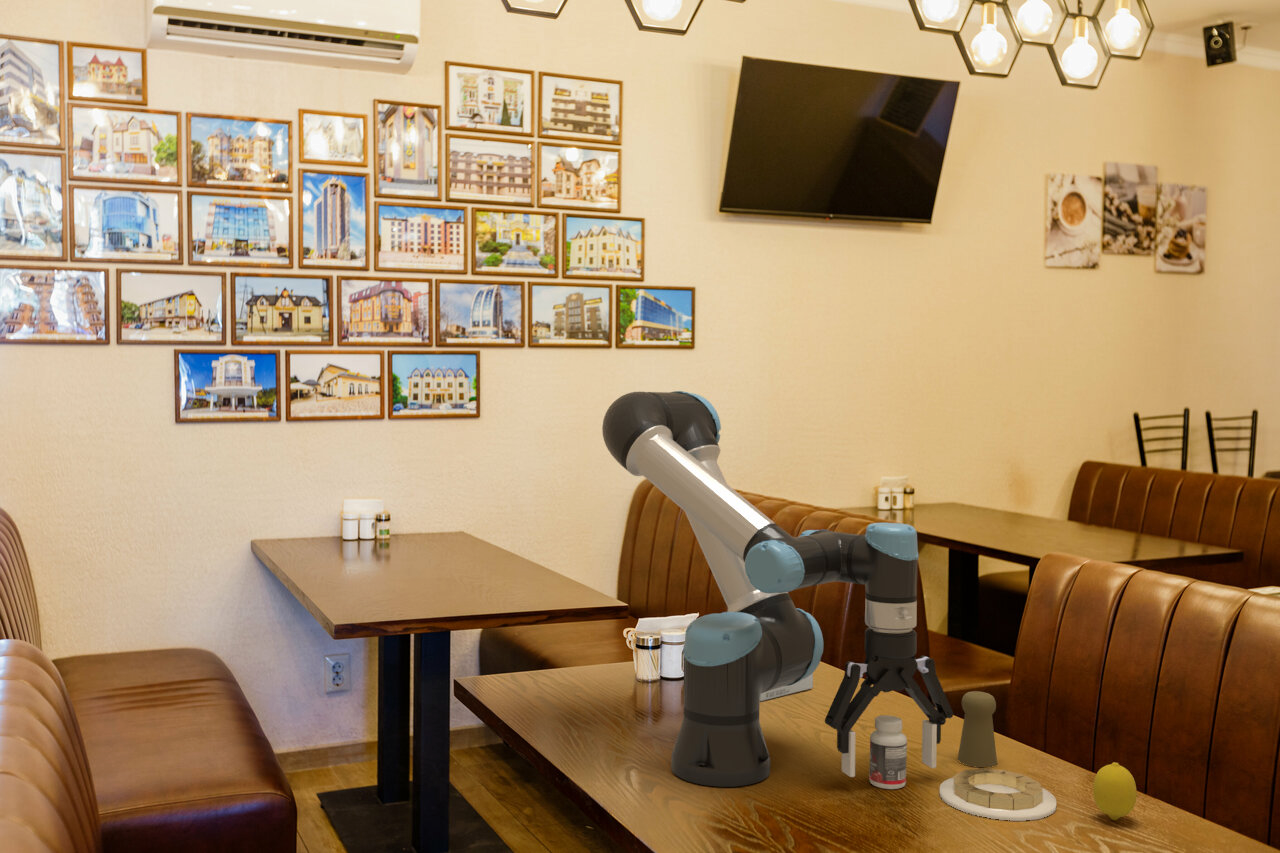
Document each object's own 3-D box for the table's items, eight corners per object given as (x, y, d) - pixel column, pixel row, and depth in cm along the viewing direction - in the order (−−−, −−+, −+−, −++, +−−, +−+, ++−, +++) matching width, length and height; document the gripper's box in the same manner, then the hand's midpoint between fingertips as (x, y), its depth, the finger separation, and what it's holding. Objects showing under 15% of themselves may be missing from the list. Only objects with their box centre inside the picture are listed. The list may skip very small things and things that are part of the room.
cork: (966, 752, 181) (968, 685, 181) (1003, 761, 177) (1004, 692, 177) (951, 762, 176) (952, 693, 176) (988, 770, 172) (990, 700, 172)
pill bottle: (862, 778, 168) (864, 714, 168) (895, 776, 169) (896, 712, 169) (879, 791, 163) (880, 725, 163) (912, 788, 164) (914, 723, 164)
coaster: (982, 826, 150) (982, 820, 150) (918, 785, 165) (918, 780, 165) (1081, 814, 155) (1081, 808, 155) (1009, 775, 170) (1010, 770, 170)
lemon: (1085, 819, 153) (1087, 762, 153) (1102, 809, 157) (1103, 753, 157) (1126, 831, 149) (1127, 772, 149) (1142, 820, 153) (1144, 763, 153)
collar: (986, 813, 153) (986, 802, 153) (937, 783, 164) (937, 772, 164) (1059, 804, 156) (1059, 793, 156) (1007, 776, 168) (1007, 765, 168)
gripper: (826, 638, 158) (825, 786, 159) (978, 628, 166) (976, 769, 166) (803, 627, 165) (801, 769, 166) (949, 618, 173) (947, 754, 173)
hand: (889, 769), depth 166 cm, fingers open, 13 cm apart
